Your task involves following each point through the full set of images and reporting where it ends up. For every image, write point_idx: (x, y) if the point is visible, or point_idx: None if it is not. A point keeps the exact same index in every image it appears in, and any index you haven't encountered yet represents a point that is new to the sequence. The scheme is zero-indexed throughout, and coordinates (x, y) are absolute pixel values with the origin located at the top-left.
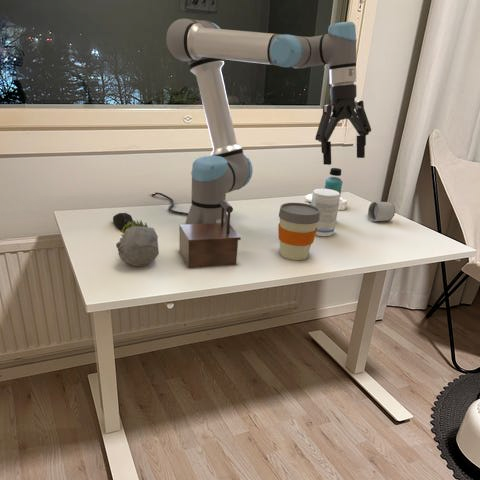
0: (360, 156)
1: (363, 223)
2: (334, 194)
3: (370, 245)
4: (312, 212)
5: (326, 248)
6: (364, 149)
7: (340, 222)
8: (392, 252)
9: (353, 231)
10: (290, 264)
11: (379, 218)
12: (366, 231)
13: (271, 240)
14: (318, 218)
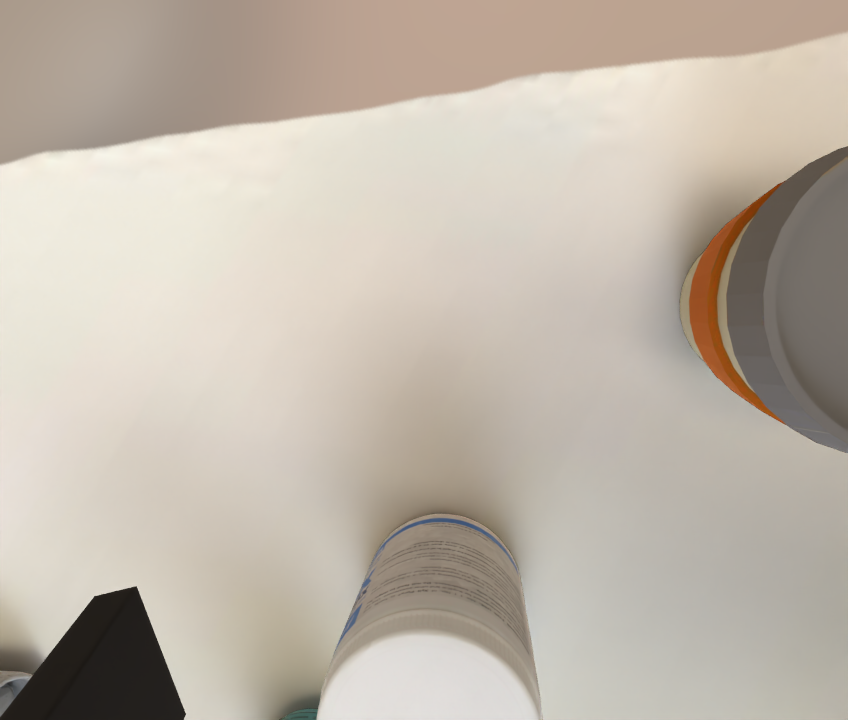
0: (148, 653)
1: None
2: (392, 662)
3: (252, 358)
4: (833, 244)
5: (526, 357)
6: (20, 697)
7: (243, 713)
8: (183, 249)
9: (239, 567)
10: None
11: (5, 671)
12: (163, 554)
13: (798, 518)
14: (790, 186)
